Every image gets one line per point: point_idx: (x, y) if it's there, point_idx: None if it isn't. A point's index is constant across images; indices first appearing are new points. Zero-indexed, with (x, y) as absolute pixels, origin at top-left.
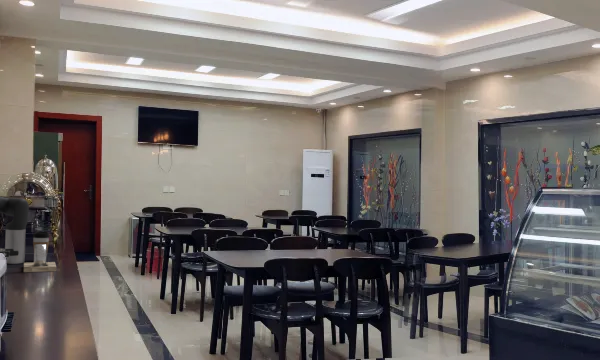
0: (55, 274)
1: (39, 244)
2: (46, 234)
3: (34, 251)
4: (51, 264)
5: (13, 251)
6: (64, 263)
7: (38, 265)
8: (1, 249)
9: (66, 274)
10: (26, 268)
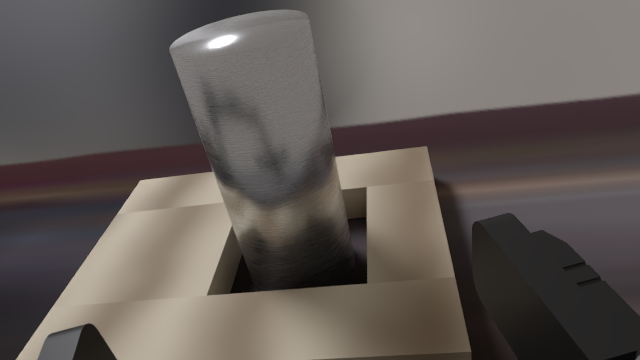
0: (612, 163)
1: (198, 41)
2: None
3: (262, 136)
4: None
5: (564, 286)
6: (69, 178)
7: (345, 235)
8: None
9: (599, 122)
10: (464, 331)
